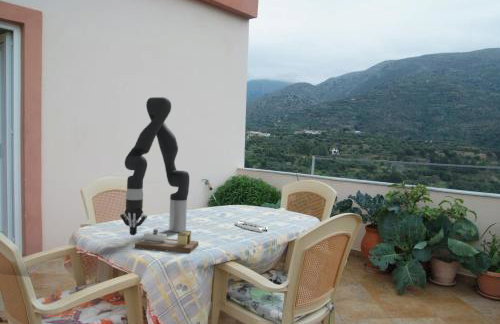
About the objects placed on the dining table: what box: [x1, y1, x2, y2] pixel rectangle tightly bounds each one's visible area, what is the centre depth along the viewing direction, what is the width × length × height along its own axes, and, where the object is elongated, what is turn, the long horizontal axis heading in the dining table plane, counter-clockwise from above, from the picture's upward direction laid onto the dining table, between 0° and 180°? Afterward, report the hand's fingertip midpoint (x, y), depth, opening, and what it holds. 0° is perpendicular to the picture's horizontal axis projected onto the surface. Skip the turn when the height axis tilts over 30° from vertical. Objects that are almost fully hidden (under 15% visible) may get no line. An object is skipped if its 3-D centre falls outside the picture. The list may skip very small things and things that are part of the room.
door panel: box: [134, 238, 199, 254], centre depth 162 cm, size 12×26×2 cm, turn 81°
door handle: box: [233, 220, 269, 233], centre depth 209 cm, size 3×10×25 cm
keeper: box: [176, 230, 192, 246], centre depth 160 cm, size 7×4×5 cm, turn 171°
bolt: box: [143, 228, 168, 242], centre depth 163 cm, size 3×10×5 cm, turn 81°
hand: (133, 234), depth 164 cm, fingers closed
